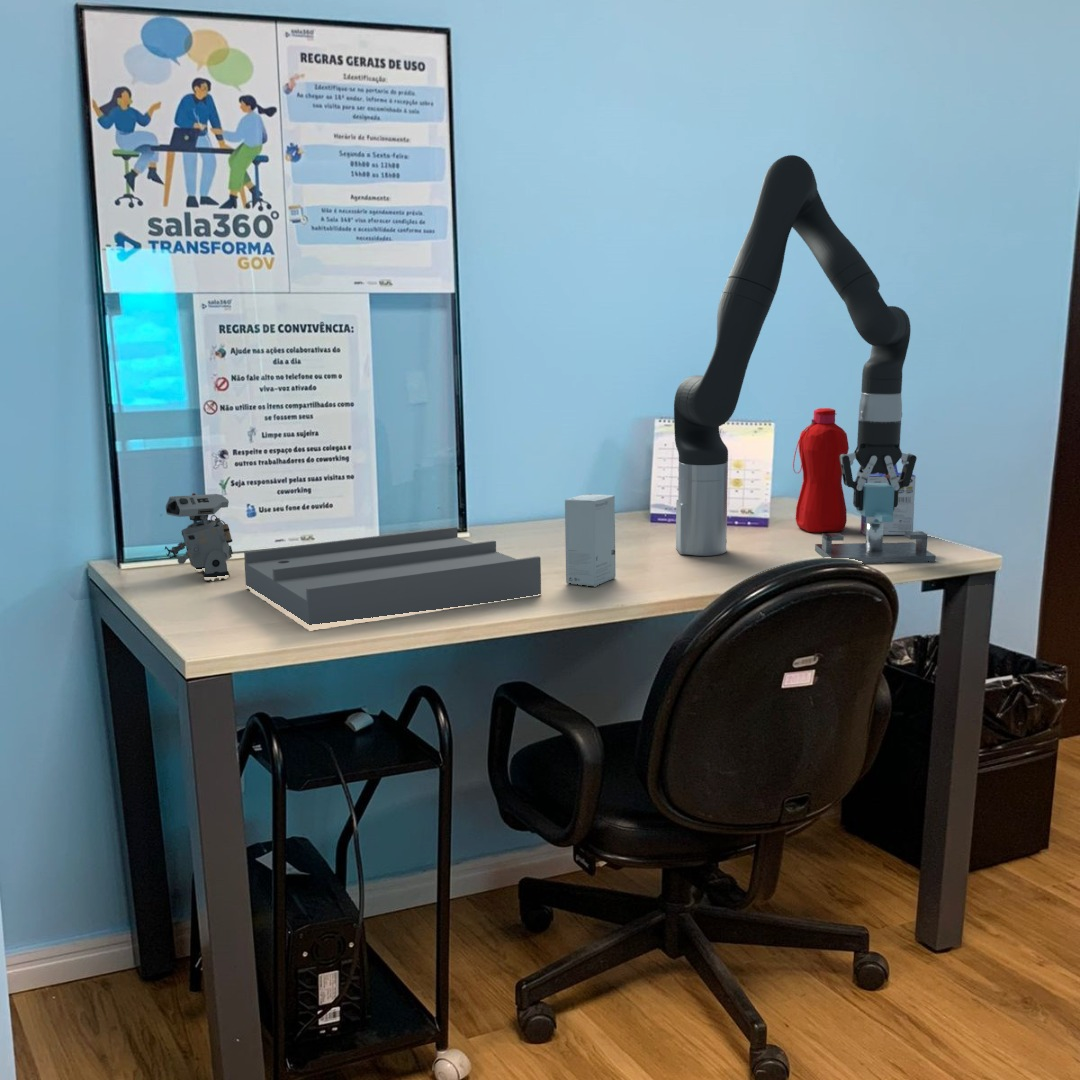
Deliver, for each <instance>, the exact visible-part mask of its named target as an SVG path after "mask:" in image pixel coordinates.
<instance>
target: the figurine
mask: <svg viewBox="0 0 1080 1080" xmlns="http://www.w3.org/2000/svg"><path fill="white" fill-rule="evenodd" d="M228 507H229V499H228V498H226V497H225V496H224V495H222V494H217V493H211V494H210V493H209V494H207V493H206V494H196V493H194V492H193V493H192V494H191V495H177V496H169V497H168V499H167V503H166V505H165V511H166V515H168V516H171V517H178V518H182V517H184V518H185V517H188V518H189V520H190V521H193V523H190V524H189V525H187V527H185V528H183V529H182V530H181V536H182V537H183V540H184V541H183V542H178V544H177V546H172V547H171V549H169V547H167V546H165V548H164V550H167V552H168V553H166V556H167V557H169V559H174V558H175V559H177V563H178V564H179V565H183V564H185V563H186V562H187V560H189V563H190V565H191V567H193V568H194V569H195V568H196V569H202V568H205V572H203V577H217V576H225V575H229V576H230V574H229V571H228V564H227V561H228V560H229V559H231V558H232V557H233V556H232V555H233V554H234V551H233V548H232V545H229V543H233V538H232V535H231V531H230V527H229V524H228V523H226V522H225V521H224V520H221V519H220V517H218V516H217V515H215V514H216V513H217V512H218V511H219V510H221V508H228ZM210 515H211V516H210ZM209 516H210V519H209ZM213 517H215V518H214V519H213ZM185 548H186V552H185V554H183V555H182V556H179V555H178V554H179V552H180V551H182V550H184V549H185ZM171 554H172V556H171Z"/></svg>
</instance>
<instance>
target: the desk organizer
mask: <svg viewBox="0 0 1080 1080" xmlns="http://www.w3.org/2000/svg"><path fill="white" fill-rule="evenodd" d="M243 554H244V555H243V556H244V577H245V586H246V585H247V586H249V587H251V588H252V589H254V590H255V591H257V592H258V593H260V594H262V595H264V596H265V597H267V598H268V599H270V600H271V601H273V602H274V603H276V604H278V605H280V606H281V607H283V608H284V609H286V610H287V611H289V612H291V613H292V614H294V615H295V616H297V617H298V618H300V619H301V620H303V621H304V622H306V623H307V624H309V625H312V624H320V623H321V624H322V623H330V622H337V621H346V620H354V619H363V618H371V617H372V618H373V617H379V616H387V615H395V614H403V613H409V612H419V611H426V610H436V609H443V608H450V607H458V606H465V605H473V604H480V603H488V602H494V601H501V600H507V599H514V598H520V597H526V596H533V595H538V594H541V595H542V574H541V572H542V568H541V567H542V566H541V563H542V562H541V556H538V555H537V556H529V557H523V558H516V557H512V556H509V555H506V554H504V553H503V552H502V553H501V552H499V551H497V541H496V540H488V541H479V542H471V541H469V540H467V539H464V538H461V537H458V526H450V527H442V528H433V529H431V528H430V529H425V530H416V531H415V530H414V531H409V532H400V533H393V534H383V535H382V534H381V535H374V536H366V537H365V536H364V537H358V538H350V539H343V540H342V539H341V540H334V541H333V540H332V541H325V542H324V541H323V542H317V543H307V544H300V545H299V544H298V545H291V546H283V547H273V548H265V549H258V550H250V551H244V552H243Z"/></svg>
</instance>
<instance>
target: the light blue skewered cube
mask: <svg viewBox="0 0 1080 1080" xmlns="http://www.w3.org/2000/svg"><path fill="white" fill-rule="evenodd" d="M894 489H895V487H893V486H891V485H889V484H887V483H865V485H864V487H863V489H862V490H863V491H864V495H863V510H862V511H858V510H857V509H856V512H857V514H860V515H863V516H864V517H875V518H876V519H878V520H880V521H881V522H893V506H894Z"/></svg>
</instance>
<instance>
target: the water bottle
mask: <svg viewBox="0 0 1080 1080" xmlns="http://www.w3.org/2000/svg"><path fill="white" fill-rule="evenodd" d="M810 422H811V424H809V425H808V426H806V427H805V428H804V429H803V430H802V431H801V433H800V435H799V439H798V441H797V445H796V448H795V451H794V456H793V461H792V468H793V469H792V470H793V472H794V473H795V474H800V473H801V472H802V483H801V484H802V485H801V488H800V492H799V496H798V499H797V503H796V508H795V522H796V525H797V527H798V528H800V529H802V530H804V531H806V532H808V533H816V534H817V533H818V534H820V533H821V534H822V533H840V532H841V531H843V530H844V529H845V527H846V525H847V518H848V517H847V514H848V513H847V506H846V499H845V494H844V490H843V484H842V483H843V476H842V470H841V465H840V459H839V456H840V455H841V454H849V449H850V447H849V440H848V435H847V433H846V432H845V430H844V429H843V428H842V427H841V426H840V425H838V424H836V409H833V408H830V407H829V408H828V407H825V408H824V407H821V408H820V407H819V408H817V409H814V410H813V419H811V421H810ZM797 450H798V454H799V458H800V464H801V465H800V470H799V471H798V472H796V471H795V458H796V454H797Z"/></svg>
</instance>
